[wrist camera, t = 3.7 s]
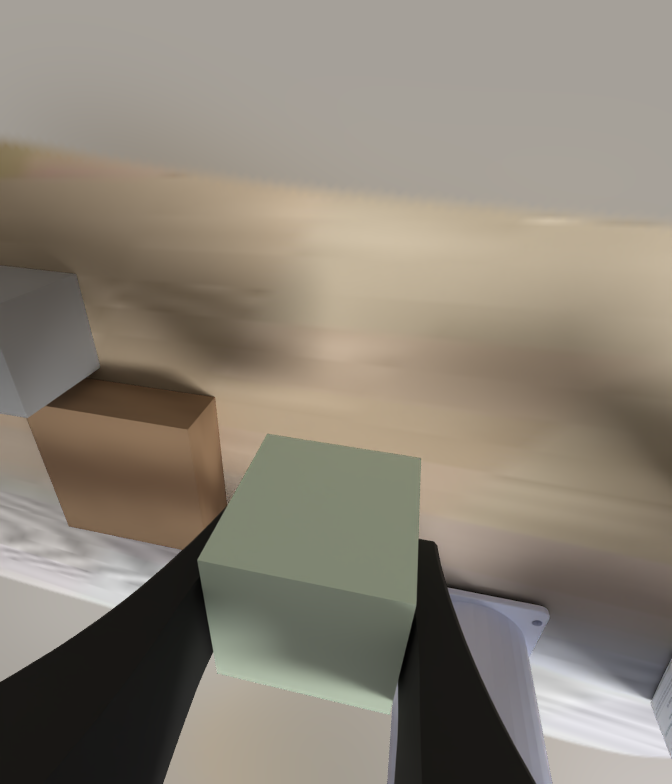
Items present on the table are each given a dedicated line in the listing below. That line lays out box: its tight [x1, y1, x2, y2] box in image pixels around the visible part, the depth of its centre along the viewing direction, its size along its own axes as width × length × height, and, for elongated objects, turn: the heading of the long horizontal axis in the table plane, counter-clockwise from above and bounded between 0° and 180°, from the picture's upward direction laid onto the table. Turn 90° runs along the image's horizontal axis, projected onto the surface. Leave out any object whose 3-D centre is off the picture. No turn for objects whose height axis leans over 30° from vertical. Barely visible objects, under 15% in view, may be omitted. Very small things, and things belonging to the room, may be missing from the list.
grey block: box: [0, 265, 100, 418], centre depth 18 cm, size 4×4×4 cm
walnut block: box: [27, 378, 227, 550], centre depth 22 cm, size 8×8×3 cm
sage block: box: [197, 434, 421, 715], centre depth 12 cm, size 4×4×4 cm
